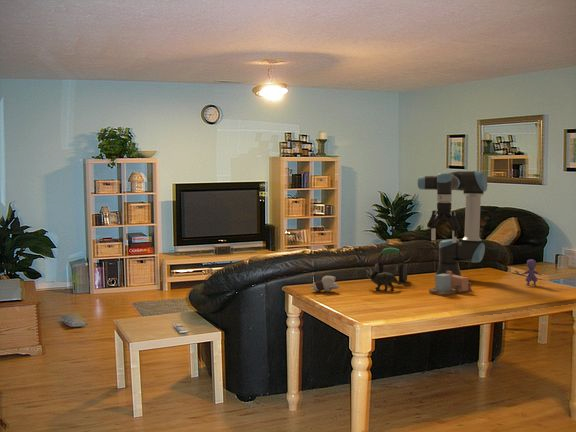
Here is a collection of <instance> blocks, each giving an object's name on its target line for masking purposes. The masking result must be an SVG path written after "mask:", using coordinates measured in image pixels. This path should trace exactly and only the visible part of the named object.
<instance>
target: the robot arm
mask: <svg viewBox="0 0 576 432" xmlns="http://www.w3.org/2000/svg"><path fill="white" fill-rule="evenodd" d="M417 187H418V189H420V190H426V191H427V190H429V191H430V190H431V191H433V190H436V192H437V193H436V201H437V203H436V209H437V210H432V211H431V212H432V213H431V216H430V218H429V219H428V220H429V221H428V222H427V227H428V228H429V229H430V232H429V233H430V235H431V236H430V237H431V239H430V240H431V241H436V231H437V230H436V226H437V225H438V224H439V222H440V221H441V220H445V221H446V222H448V223H449V226H451V228H452V229H453V230H452V231H451V232H452V235H451V236H452V238H451V239H443V240H441V241H439V246H438V267H437V269H436V271H435V275H438V274H446V271H452V274H453V275H458V276H462V272H461V269H460V265H459V264H460V263H459V262H467V263H481V261H482V260H483V258H484V255H485V252H486V250H485V249H486V246H485V244H484V242H482V241H483V240H482V239H481V238H480V229H481V228H480V227H481V226H480V223H481V201H482V199H481V198H482V196H483V195H484V193H485V192H486V191H487V190H488V179H487V175H486V174H485V172H484V171H477V170H476V171H475V170H473V171H472V170H470V171H469V170H468V171H465V170H463V171H453V172H448V173H447V172H446V173H445V172H442V173H437V175H421V176H419V177H418V179H417ZM452 191H458V192H459V191H461V192H462V191H463V192H462V193H463V195H464V196H465V209H464V212H465V215H464V236H463V238H461V241H460V239H458V238H457V237H458V235H459V232H458V231H460V230H461V229H462V227H461V224H460V222H459V219H458V217H457V212H456V211H452V201H453V200H452V199H453V198H452Z"/></svg>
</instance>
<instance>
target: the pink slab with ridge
mask: <svg viewBox="0 0 576 432" xmlns="http://www.w3.org/2000/svg"><path fill="white" fill-rule="evenodd" d="M446 274H449V275H451V289H455V284H458V285H461V291H467V290H468V282H469V277H466V276H462V275H461V276H458V275H453V274H452V271H446Z"/></svg>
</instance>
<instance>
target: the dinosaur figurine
mask: <svg viewBox="0 0 576 432" xmlns="http://www.w3.org/2000/svg"><path fill="white" fill-rule="evenodd" d="M368 269H369V270H367V269H365V272H366V277H367V278H369V279H370V281H371V282H373V284H375V285H376V287H375V291H376V292H380V289H381V286H384V288H383V292H387V291H388V288H389V287H390V291H392V290H394V289H395V288H394V286H393V284H396V285H405V283H406V282H399V279H398V278H397V277H396V275H394V274H393V273H391V272H388V271H387V272H386V271H385V272H384V271H383V273H378V271H375V270H374V271H372V269H371V268H370V267H368ZM392 283H393V284H392ZM388 286H389V287H388Z"/></svg>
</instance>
